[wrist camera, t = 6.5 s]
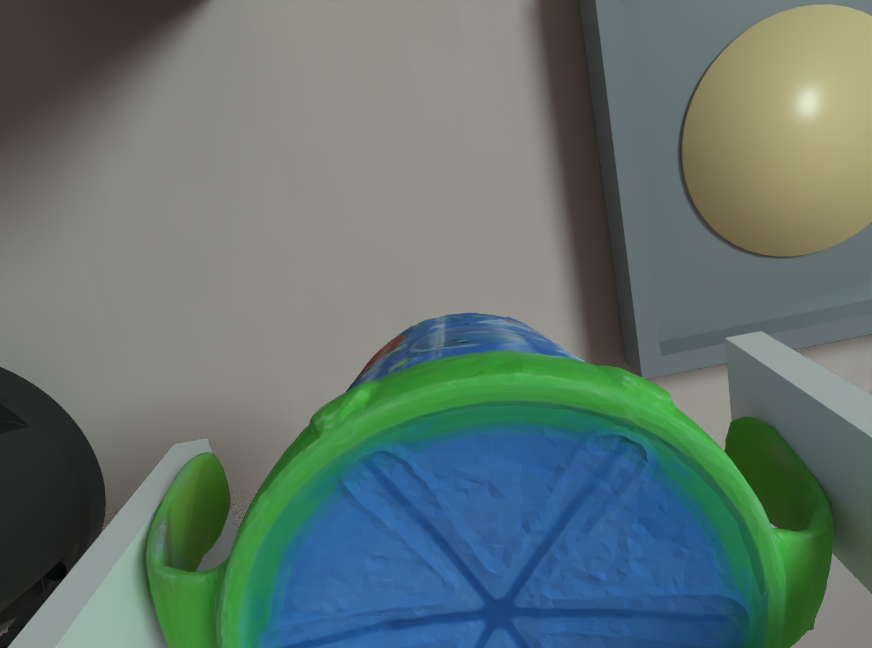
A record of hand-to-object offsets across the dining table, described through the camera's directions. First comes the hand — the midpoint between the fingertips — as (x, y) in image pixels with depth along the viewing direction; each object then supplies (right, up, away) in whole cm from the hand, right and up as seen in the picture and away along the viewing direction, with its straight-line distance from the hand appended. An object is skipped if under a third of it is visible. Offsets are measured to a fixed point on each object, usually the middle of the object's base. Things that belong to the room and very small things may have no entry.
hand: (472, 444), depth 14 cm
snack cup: (0, 0, +2) cm, 2 cm away
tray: (+16, +11, +16) cm, 25 cm away
